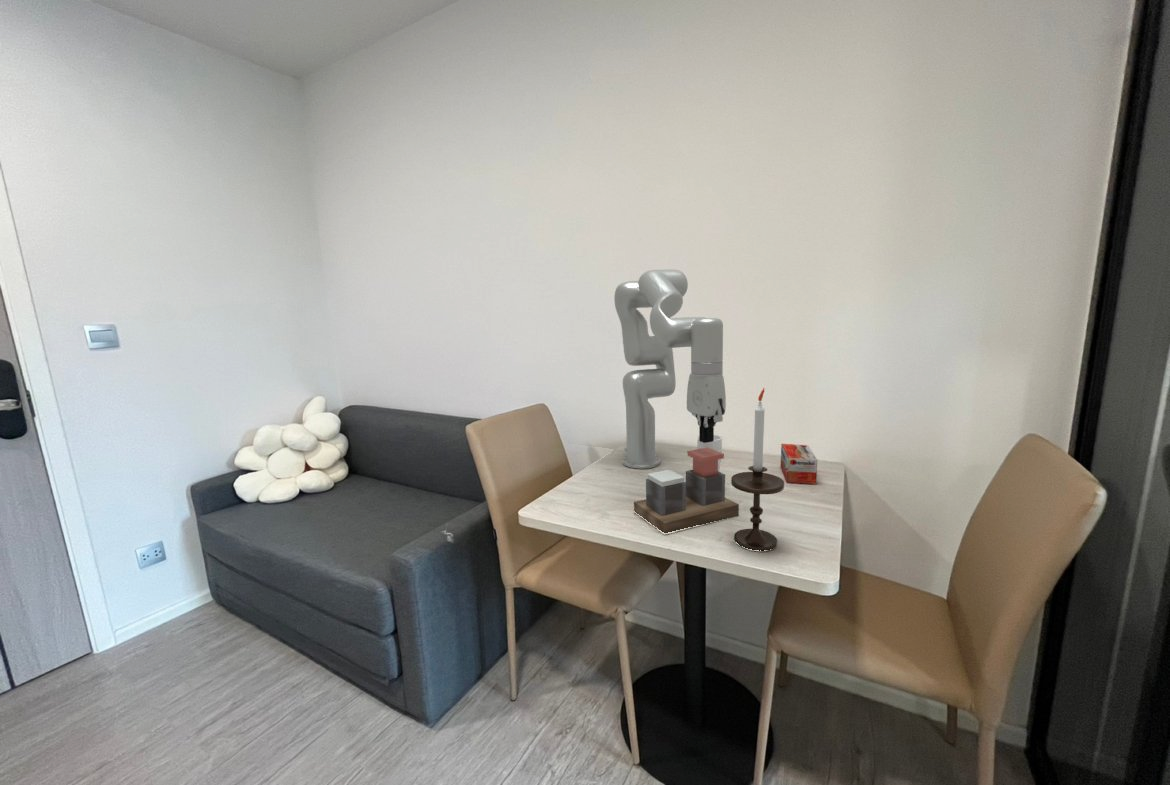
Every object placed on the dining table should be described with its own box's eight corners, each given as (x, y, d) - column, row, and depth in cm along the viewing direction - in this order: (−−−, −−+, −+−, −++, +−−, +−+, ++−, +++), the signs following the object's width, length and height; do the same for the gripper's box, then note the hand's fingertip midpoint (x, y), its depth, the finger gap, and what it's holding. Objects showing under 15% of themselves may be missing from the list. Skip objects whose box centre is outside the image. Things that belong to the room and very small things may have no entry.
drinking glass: (718, 492, 136) (719, 441, 134) (694, 489, 139) (695, 439, 137) (722, 484, 142) (723, 434, 140) (699, 481, 145) (700, 432, 143)
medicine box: (816, 485, 140) (818, 459, 138) (786, 484, 142) (787, 457, 140) (806, 468, 154) (807, 444, 153) (779, 467, 156) (780, 443, 155)
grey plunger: (647, 505, 122) (647, 473, 120) (669, 500, 124) (669, 469, 123) (662, 514, 116) (661, 482, 115) (684, 509, 119) (684, 477, 117)
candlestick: (788, 539, 109) (796, 385, 102) (770, 559, 101) (776, 393, 94) (742, 526, 116) (746, 381, 109) (721, 543, 108) (724, 388, 102)
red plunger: (687, 481, 126) (687, 451, 124) (707, 477, 129) (707, 447, 127) (702, 489, 120) (703, 457, 119) (723, 484, 123) (723, 453, 121)
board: (634, 512, 125) (633, 475, 123) (703, 496, 134) (703, 461, 132) (664, 535, 112) (664, 494, 111) (738, 515, 121) (739, 477, 120)
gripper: (676, 367, 124) (676, 437, 127) (714, 373, 111) (713, 450, 114) (700, 365, 127) (699, 433, 130) (740, 370, 114) (738, 446, 117)
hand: (706, 441), depth 122 cm, fingers closed
